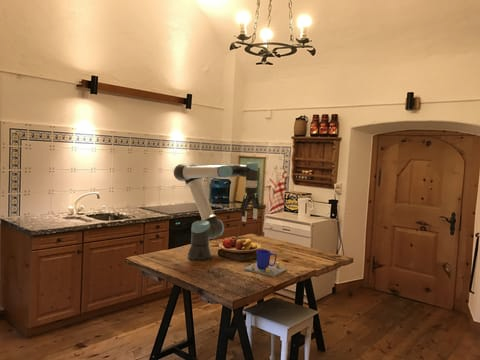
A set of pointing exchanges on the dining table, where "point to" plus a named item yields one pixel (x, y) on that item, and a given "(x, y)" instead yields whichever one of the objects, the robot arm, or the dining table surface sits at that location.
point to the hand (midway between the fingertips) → (249, 220)
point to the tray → (263, 271)
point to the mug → (264, 258)
